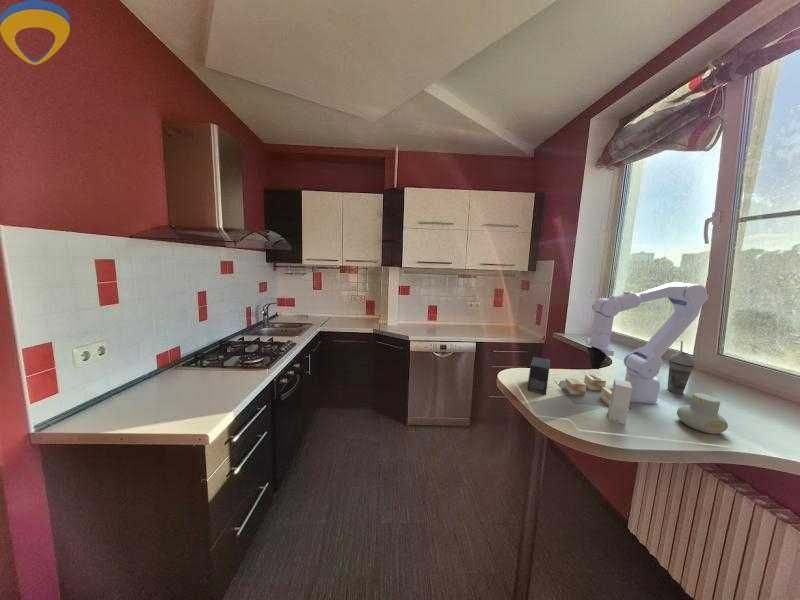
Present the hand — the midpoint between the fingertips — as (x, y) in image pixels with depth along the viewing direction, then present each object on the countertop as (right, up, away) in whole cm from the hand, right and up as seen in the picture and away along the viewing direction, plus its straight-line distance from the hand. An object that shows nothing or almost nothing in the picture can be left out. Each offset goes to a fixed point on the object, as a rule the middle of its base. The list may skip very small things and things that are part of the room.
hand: (595, 368), depth 108 cm
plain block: (-7, -9, +2) cm, 11 cm away
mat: (-2, -10, +1) cm, 10 cm away
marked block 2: (+3, -11, -5) cm, 12 cm away
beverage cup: (+36, -11, +8) cm, 39 cm away
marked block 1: (+4, -9, +6) cm, 11 cm away
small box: (-19, -9, +4) cm, 22 cm away
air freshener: (+20, -14, -17) cm, 30 cm away
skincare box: (-3, -13, -15) cm, 20 cm away
